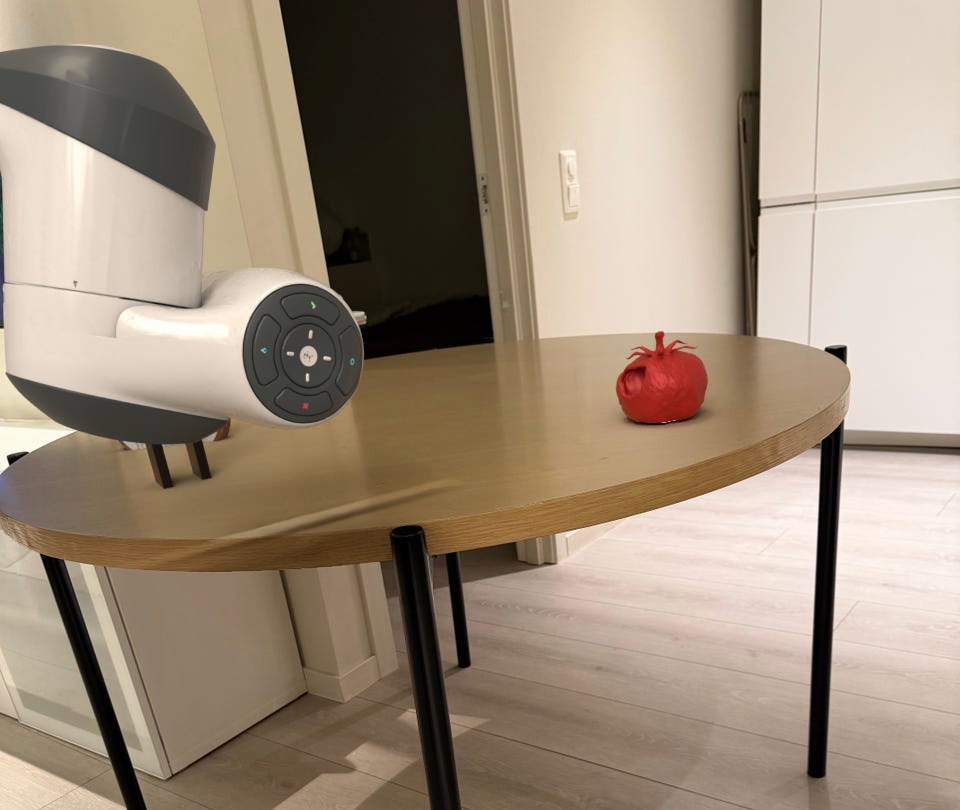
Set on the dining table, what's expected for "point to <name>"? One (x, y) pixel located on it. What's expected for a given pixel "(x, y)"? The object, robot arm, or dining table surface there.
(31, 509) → the dining table surface
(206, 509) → the dining table surface
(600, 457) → the dining table surface
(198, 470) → the bracket
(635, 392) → the red tomato
